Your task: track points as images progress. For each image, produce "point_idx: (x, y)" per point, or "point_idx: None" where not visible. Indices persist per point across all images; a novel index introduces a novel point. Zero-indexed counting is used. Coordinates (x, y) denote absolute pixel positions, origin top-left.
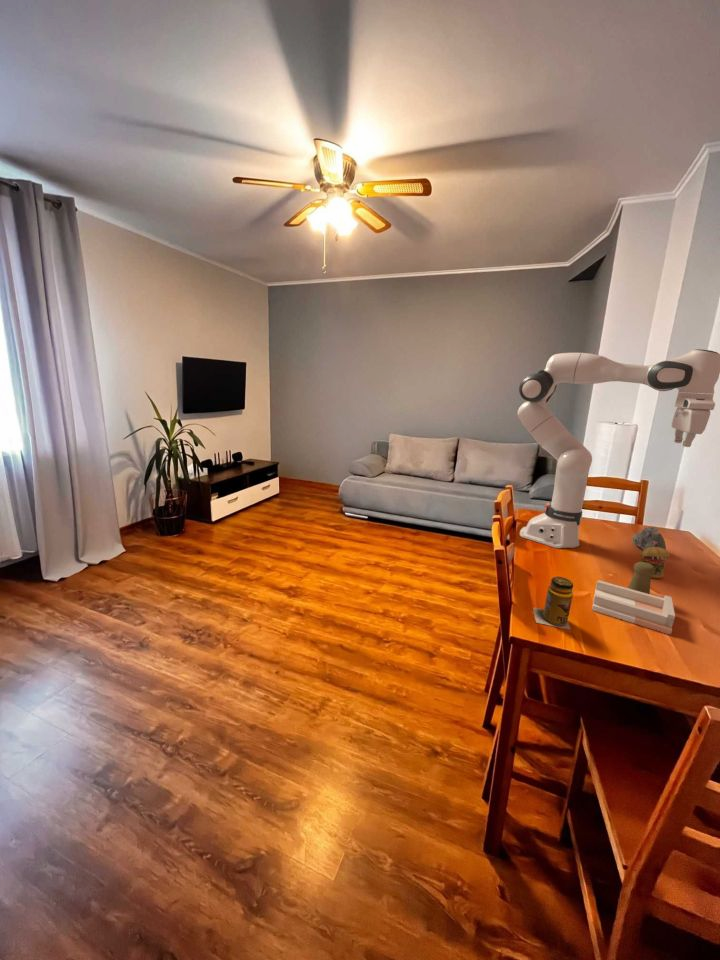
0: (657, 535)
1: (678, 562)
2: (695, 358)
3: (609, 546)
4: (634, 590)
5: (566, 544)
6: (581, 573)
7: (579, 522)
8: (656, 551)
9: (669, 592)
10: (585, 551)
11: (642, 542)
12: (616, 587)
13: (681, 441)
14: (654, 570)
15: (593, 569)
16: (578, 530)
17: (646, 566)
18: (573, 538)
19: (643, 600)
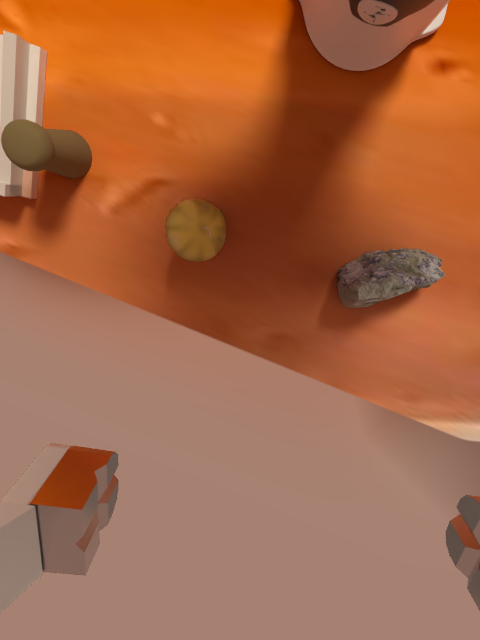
0: (355, 289)
1: (309, 319)
2: None
3: (364, 172)
4: None
5: (305, 6)
6: (127, 31)
7: (356, 10)
8: (170, 223)
9: (127, 236)
10: (297, 81)
11: (369, 259)
12: (2, 80)
13: (454, 561)
14: (17, 166)
15: (171, 76)
16: (357, 33)
17: (5, 142)
18: (324, 23)
19: None
